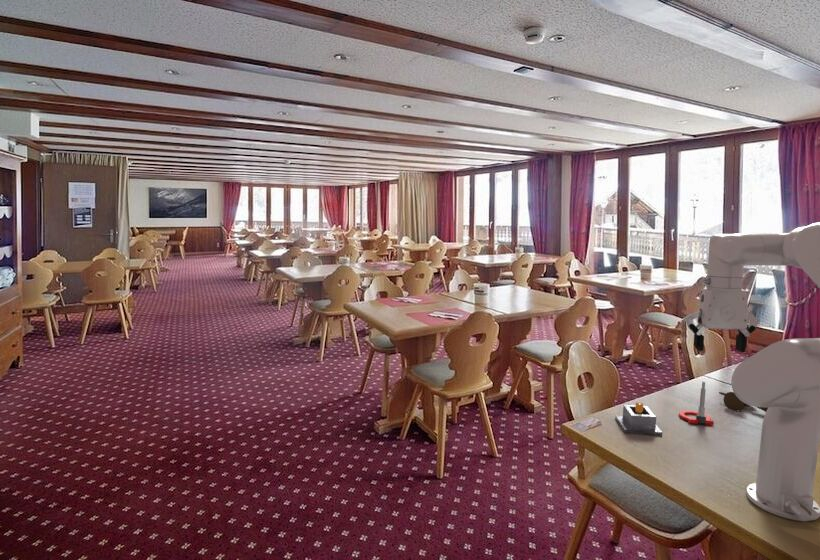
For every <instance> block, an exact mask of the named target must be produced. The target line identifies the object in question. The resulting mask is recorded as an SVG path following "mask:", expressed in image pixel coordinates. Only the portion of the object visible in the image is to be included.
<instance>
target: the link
mask: <svg viewBox="0 0 820 560" xmlns="http://www.w3.org/2000/svg"><path fill="white" fill-rule="evenodd" d="M635 407H636V404H623V408H622V409H623V410H622V416H623V418H624V420H625V421H626V423H627V424H628V426H629V427H630V429H640V430H655V429H656V425H657V416H656V415H655V414H654V412H653V411H652V410H651V409H650V407H648V406H647V405H643V414H635Z"/></svg>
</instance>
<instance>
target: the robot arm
mask: <svg viewBox="0 0 820 560" xmlns="http://www.w3.org/2000/svg"><path fill="white" fill-rule="evenodd" d="M707 254H708V255H707V269H706V271H707V272H706V275H705V277H704V278H701V279H700V283H701V285H705V287H703V289H702V291H701V295H700V298H699V299H700V300H699V303H698V309H697V311H694V312H691V313H689V314H687V315H685V316H684V317H683V320H684V322H685V323H686V325H687V327H688V328H689V330H691V332H692V333H693V347H694V349H695V350H697V351H699V352H702V351H704V346H705V335H703V334H704V333H705V332H706V331H707V330H708V329H709V330H727V331H729V330H730V331H731V330H733V331H734V330H736V332H737V333H738V334H736V335H735V350H736V351H738V352H740V353H746V349H747V345H748V342H747V341H748V337H750V336H751V334H752V333H754V332H755V330H756V329H757V327H758V326H759V324H760V322H761V319H760V318H759V317H756V316H755V315H752V314H751V313H749V305H748V297H747V291H746V289H743V279H744V278H743V277H744V266H755V267H756V266H766V267H767V266H768V267H769V266H771V267H773V266H774V267H776V266H777V267H778V266H786V267H787V266H789V267H790V266H793V267H795V268H797V269H802V270H803V272H804V273H805V274H806V276H808V277H809V278H810V280H811V281H813V283H814V284H815V285H816V287H818V288H819V289H820V221H819V222H814V223H811V224H809V225H807V226H800V227H797V228H795V229H793V230H791V231H789V232H784V233H783V232H782V233H781V232H780V233H777V232H776V233H774V232H773V233H771V232H770V233H766V232H763V233H762V232H760V233H759V232H758V233H757V232H756V233H755V232H751V233H748V232H747V233H741V232H740V233H717V234H716V233H715V234H713V235H711V236H710V237H709V242H708V253H707ZM695 319H697V324H696V325H695V324H694V322H693V321H694V320H695ZM730 380H731V381H730V383H731V384H730V385H731V389H732V392H734V393H735V395H736V396H737V397H738V399H740V400H741V401H742V402H744V403H745V404H747V405H746V406H748V405H749V406H751V407H755V408H757V407H769V408H768V409H767V411H766V412H765V414H764V416H763V418H762V419H763V420H762V425H761V432H760V441H759V442H760V443H759V450H758V451H759V452H758V459H757V460H758V462H757V471H756V479H755V482H753V483H751V484H748V485H747V486H746V488H745V489H746V492H745V494H746V496H747V499H749V501H751V503H753V504H754V505H756V506H757V507H758V508H759V509H762V510H763V511H766V512H768V513H770V514H773V515H775V516H778V517H781V518H784V519H787V520H792V521H798V522H811V521H816V520H817V519H819V518H820V506H819V504H818V503H817V502H816V501H815V499H814V496H813V492H814V487H815V477H816V471H817V470H816V469H817V463H818V462H817V461H818V455H819V446H820V337H815V338H813V337H812V338H811V337H807V338H806V337H805V338H801V337H800V338H798V337H797V338H796V337H795V338H788V339H786V338H785V339H781V340H779V341H776V342H772V343H771V344H769V345H768V346H766V347H765V348H763V349H761V350H759V351H758V352H756V353H754V354H752V355H751V356H749V357H747V358H746V359H744V360H743V361H741V362H740V363H739V364H738V365H737V366H736V367H735V369H734V371H733V372H732V375H731V379H730Z"/></svg>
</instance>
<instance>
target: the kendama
mask: <svg viewBox="0 0 820 560" xmlns="http://www.w3.org/2000/svg"><path fill="white" fill-rule="evenodd" d="M718 394H719V395H722V396H723V404H724V406H725V407H726V408H728V409H729V410H731V411H735V412H739V411H742V410H743V409H744V407H745V406H748V407H749V406H750V405H747V404H745V403H744V402H742V401H741V400H740V399H738V397H737V396H736V395H735V393H734V392H733V391H728V392H723V391H719V392H718ZM756 408H757V409H759V410H761V411H763V412H765V413H766V411H767V409H768V408H769V407H756Z"/></svg>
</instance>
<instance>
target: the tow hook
mask: <svg viewBox="0 0 820 560" xmlns="http://www.w3.org/2000/svg"><path fill="white" fill-rule="evenodd" d="M701 383H702V384H701V388H700V395H699V396H700V397H699V406H698V411H695V410H681V411H679V412H678V417H680V419H683V420H686V421H687V423H688V424H692V425H701V426H702V425H703V426H705V425H707V426H714V424H715V422H714V420H713V419H711V417H710V416H709V415H708V414H706V413H705V411H706V407H705V402H706V400H705V399H706V381H702V382H701ZM688 415H691V416H695V417H696V418H695V417H691V416H688Z"/></svg>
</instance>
